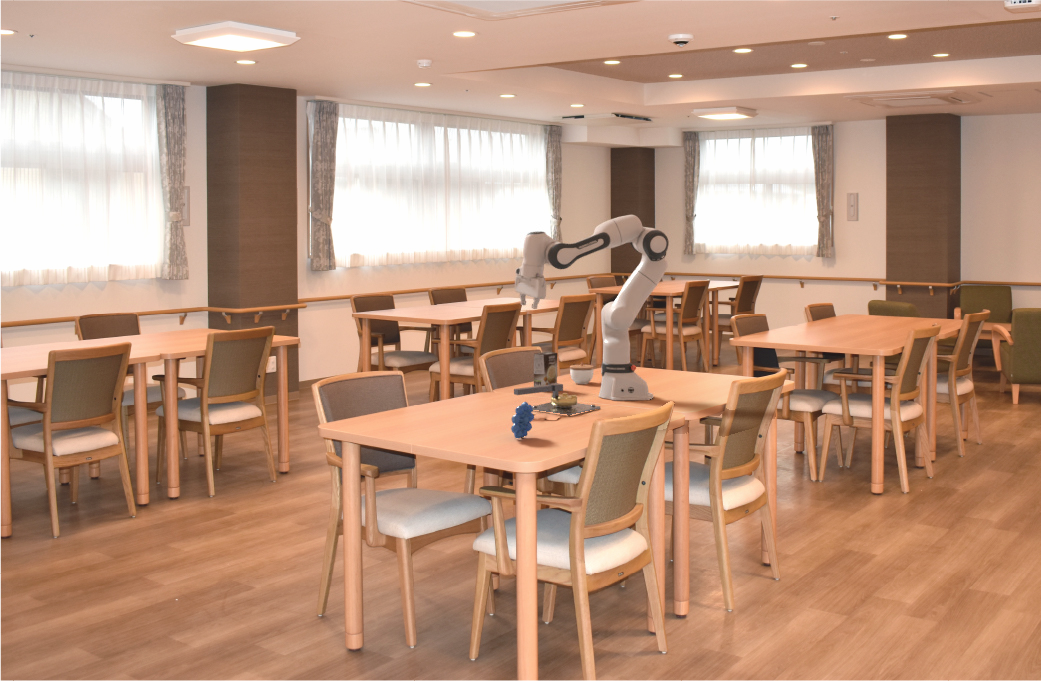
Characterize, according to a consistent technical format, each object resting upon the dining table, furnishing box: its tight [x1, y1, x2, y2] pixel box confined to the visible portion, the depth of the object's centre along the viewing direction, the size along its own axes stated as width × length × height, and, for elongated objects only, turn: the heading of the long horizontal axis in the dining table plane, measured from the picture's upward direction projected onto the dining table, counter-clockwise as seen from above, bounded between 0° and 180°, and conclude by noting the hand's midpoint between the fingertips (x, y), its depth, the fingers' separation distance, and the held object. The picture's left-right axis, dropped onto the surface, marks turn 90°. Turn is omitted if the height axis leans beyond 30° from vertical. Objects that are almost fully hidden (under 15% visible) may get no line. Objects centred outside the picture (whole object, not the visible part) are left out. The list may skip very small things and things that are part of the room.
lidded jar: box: [569, 361, 595, 385], centre depth 435 cm, size 11×11×9 cm
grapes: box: [510, 401, 535, 439], centre depth 318 cm, size 12×7×12 cm, turn 146°
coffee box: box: [533, 351, 558, 387], centre depth 415 cm, size 9×6×16 cm
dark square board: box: [531, 401, 601, 415], centre depth 370 cm, size 20×20×2 cm
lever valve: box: [513, 382, 578, 406], centre depth 364 cm, size 28×10×8 cm, turn 127°
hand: (528, 306), depth 385 cm, fingers open, 8 cm apart
